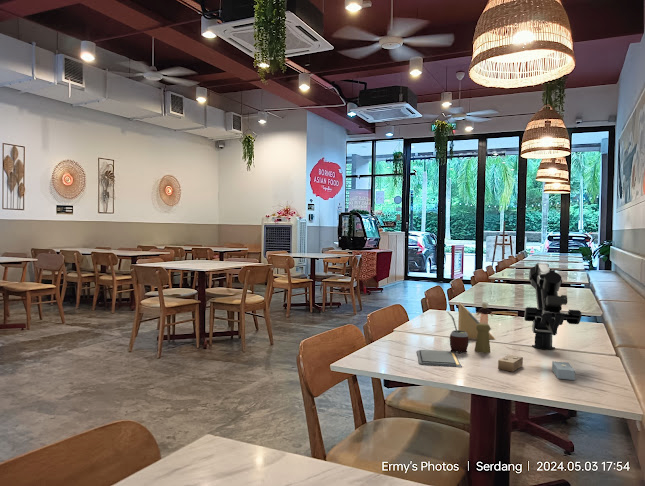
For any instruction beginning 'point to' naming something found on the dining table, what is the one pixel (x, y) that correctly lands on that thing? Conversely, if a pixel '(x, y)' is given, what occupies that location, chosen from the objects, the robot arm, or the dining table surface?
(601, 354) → the dining table surface
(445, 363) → the grey notebook
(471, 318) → the sandwich container
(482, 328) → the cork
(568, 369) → the grey rectangular block
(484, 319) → the grandmother figurine
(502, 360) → the brown rectangular box
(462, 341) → the mate gourd
